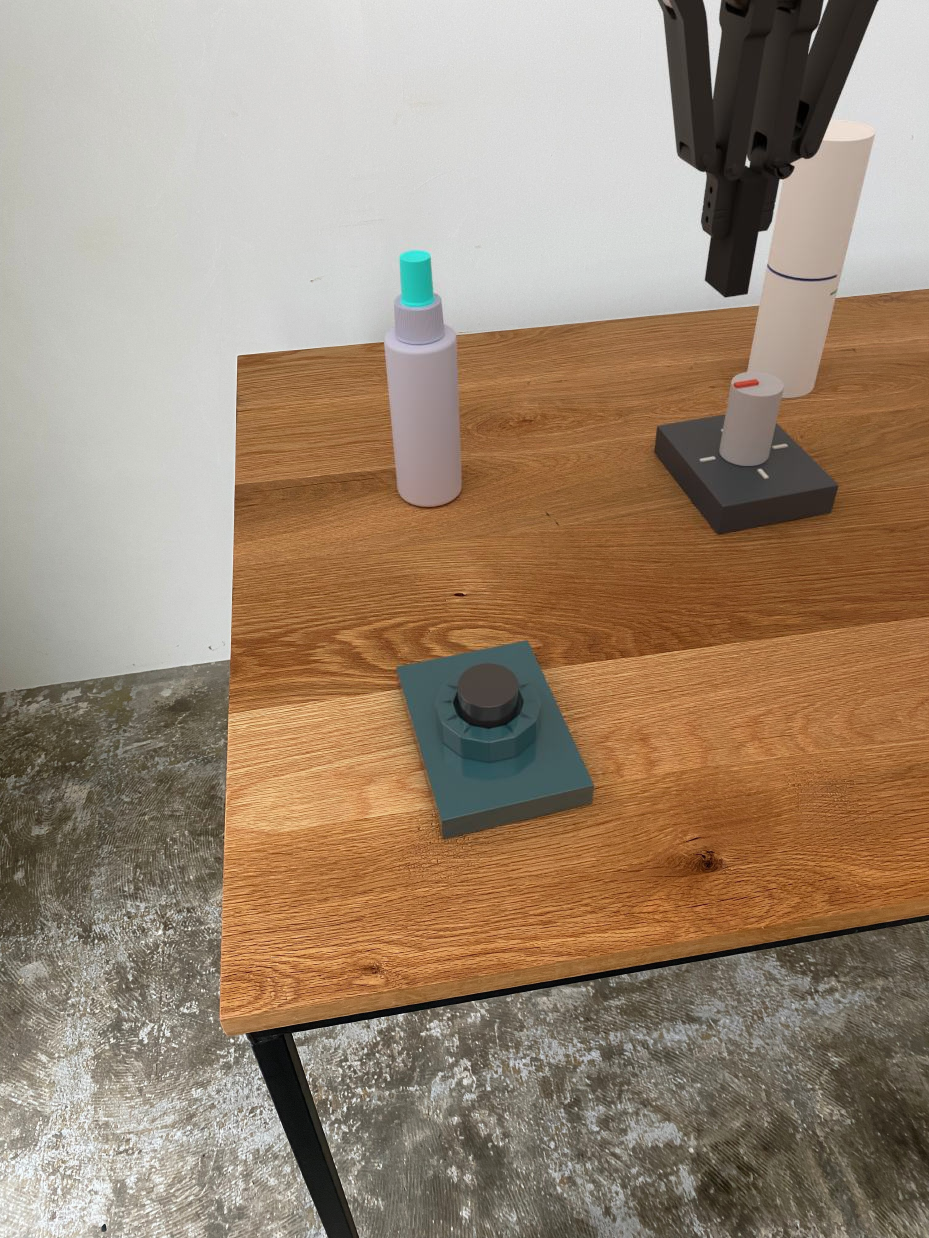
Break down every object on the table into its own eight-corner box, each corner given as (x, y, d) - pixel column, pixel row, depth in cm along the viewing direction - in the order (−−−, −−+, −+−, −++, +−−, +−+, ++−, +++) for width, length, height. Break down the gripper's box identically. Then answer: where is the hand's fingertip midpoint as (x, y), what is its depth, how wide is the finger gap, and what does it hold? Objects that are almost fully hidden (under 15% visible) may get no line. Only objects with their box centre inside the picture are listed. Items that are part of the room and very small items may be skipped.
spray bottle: (468, 504, 86) (460, 266, 71) (403, 513, 85) (381, 275, 70) (455, 469, 90) (445, 238, 76) (393, 477, 90) (371, 246, 75)
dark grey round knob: (525, 721, 61) (526, 699, 60) (466, 734, 61) (466, 712, 59) (508, 679, 64) (508, 657, 63) (452, 691, 64) (450, 669, 62)
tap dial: (754, 437, 87) (768, 365, 82) (777, 461, 84) (794, 388, 79) (710, 444, 87) (723, 372, 82) (733, 469, 83) (747, 396, 78)
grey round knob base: (592, 804, 61) (596, 764, 58) (442, 839, 59) (439, 800, 56) (527, 658, 71) (528, 619, 68) (398, 685, 69) (393, 646, 66)
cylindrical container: (732, 376, 102) (775, 126, 86) (782, 360, 105) (835, 114, 88) (776, 404, 98) (832, 146, 81) (828, 387, 100) (893, 132, 83)
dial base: (831, 513, 83) (839, 483, 81) (717, 534, 81) (723, 504, 79) (756, 434, 93) (762, 406, 91) (653, 452, 92) (657, 423, 89)
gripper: (711, -239, 37) (650, 328, 53) (997, -251, 39) (856, 296, 55) (636, -235, 42) (601, 278, 58) (891, -246, 45) (791, 251, 60)
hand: (725, 286), depth 57 cm, fingers closed
